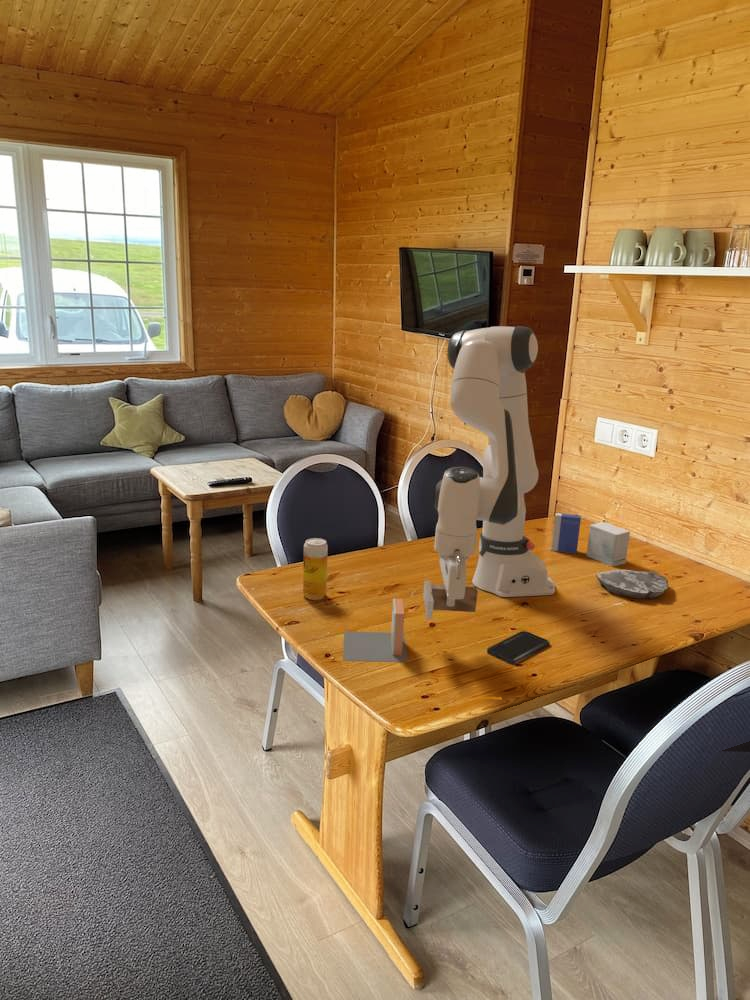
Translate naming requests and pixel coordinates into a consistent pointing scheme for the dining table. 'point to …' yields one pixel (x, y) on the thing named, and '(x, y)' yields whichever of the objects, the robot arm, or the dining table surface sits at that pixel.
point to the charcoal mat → (371, 647)
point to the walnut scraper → (437, 599)
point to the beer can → (315, 568)
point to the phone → (518, 647)
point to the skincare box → (608, 544)
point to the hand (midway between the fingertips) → (449, 601)
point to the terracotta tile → (397, 626)
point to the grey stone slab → (633, 583)
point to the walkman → (566, 533)
